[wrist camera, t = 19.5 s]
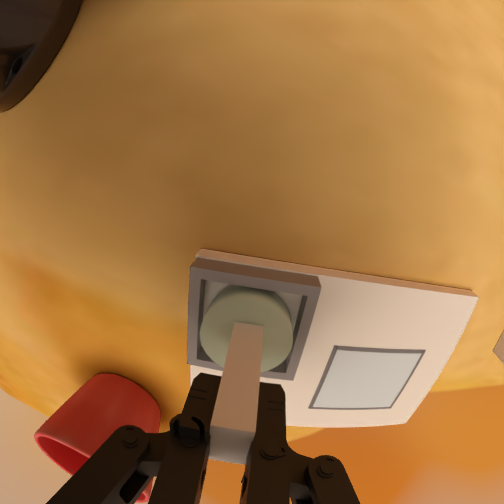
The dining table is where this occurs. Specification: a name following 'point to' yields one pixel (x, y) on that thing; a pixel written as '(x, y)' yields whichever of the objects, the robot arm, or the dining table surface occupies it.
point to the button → (251, 312)
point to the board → (340, 337)
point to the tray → (500, 348)
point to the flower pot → (96, 421)
